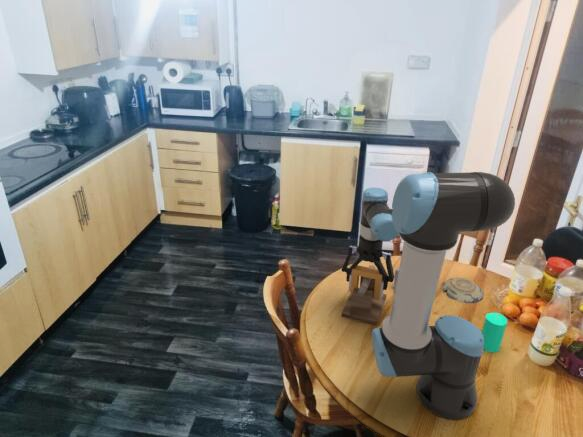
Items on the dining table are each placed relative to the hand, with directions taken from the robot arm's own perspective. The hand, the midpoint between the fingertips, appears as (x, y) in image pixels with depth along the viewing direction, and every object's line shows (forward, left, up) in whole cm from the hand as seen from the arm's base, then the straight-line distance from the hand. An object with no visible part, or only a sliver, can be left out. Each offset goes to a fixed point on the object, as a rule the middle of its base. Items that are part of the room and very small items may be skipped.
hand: (365, 292), depth 145 cm
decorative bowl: (+23, -31, -7) cm, 39 cm away
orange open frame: (0, 0, -1) cm, 1 cm away
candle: (-4, -40, -6) cm, 41 cm away
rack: (0, 0, -6) cm, 6 cm away
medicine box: (+17, -11, -6) cm, 21 cm away
